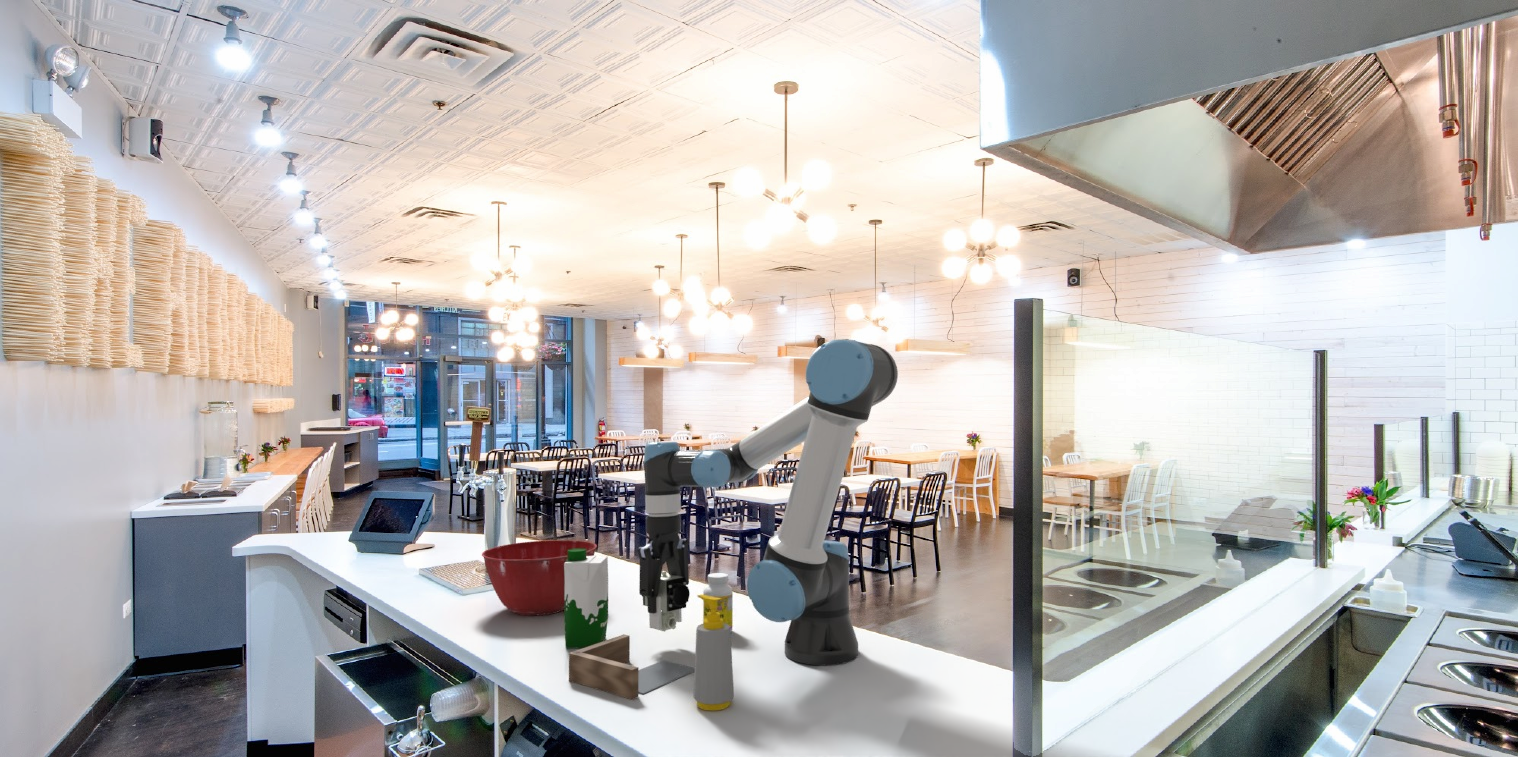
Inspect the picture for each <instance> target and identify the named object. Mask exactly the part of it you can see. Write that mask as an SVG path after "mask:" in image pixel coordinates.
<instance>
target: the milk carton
mask: <svg viewBox="0 0 1518 757" xmlns="http://www.w3.org/2000/svg"><path fill="white" fill-rule="evenodd" d="M608 557H609V556H605V555H604V556H603V555H602V556H601V555H599V556H597V555H594V556H586V549H583V548H575V549H569V550H568V551H567V560H566V562H565V563H564V574H565V606H564V610H563V612H564V616H563V617H564V622H563V623H564V624H563V625H564V638H565V639H564V641H565V643H564V645H565V649H583V648H586V647H588V646H591V645H594V644H597V643H600V642H603V641H605V639H606V638H607V629H608V623H609V622H608V621H609V564H608V562H609V561H608V559H609V558H608Z"/></svg>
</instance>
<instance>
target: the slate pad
mask: <svg viewBox="0 0 1518 757" xmlns="http://www.w3.org/2000/svg"><path fill="white" fill-rule="evenodd" d="M692 673H695V667H692V666H688V665H686V664H681V663H678V662H672V661H669V660H664V659H663V660H660V661H658V662H655V663H654V664H651V665H648V666H646V667H643V668H641V669H639V670H638V694H640V693H641V694H640V695H645V694H647V693H649V692H652V691H654V690H656V689H658V687H659V688H661V687H663V686H665V685H667V684H670V683H672V682H674V681H676V680H678V679H681V678H683V677H685V676H687V674H688V675H689V674H692ZM671 681H672V682H671ZM669 682H670V683H669Z"/></svg>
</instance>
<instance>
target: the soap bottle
mask: <svg viewBox="0 0 1518 757" xmlns="http://www.w3.org/2000/svg"><path fill="white" fill-rule="evenodd" d="M696 596H697V598H699V599H701V600H702V601H703V600H704V601H705V602H706V603H709V607H710V609H711V612H709V613H707V619H704V621H703V620H702V622H703V623H701V624H699V625H697V627H696V633H695V636H696V637H695V651H694V653H695V654H694V655H695V656H694V658H695V659H694V668H695V671H694V672H693V673H694V675H693V677H694V680H693V699H694V701H696V706H698V708H699V709H701V710H704V711H712V712H713V711H715V712H716V711H721V710H725V709H727V708H728V707H730V705H731V700H733V699H734V696H735V692H734V691H735V690H734V688H735V687H734V673H733V656H732V652H733V651H732V636H731V635H732V634H731V633H732V631H731V632H730V626H729V625H728V624H726V623H724V621H723V619H721V618H720V613H718V612H716V608H717V600H720V599H721V598H716V597H712V596H707V595H703V594H697V595H696Z"/></svg>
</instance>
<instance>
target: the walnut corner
mask: <svg viewBox="0 0 1518 757" xmlns="http://www.w3.org/2000/svg"><path fill="white" fill-rule="evenodd" d="M630 644H631V643H630V634H621V635H618V636H615V637H613V638H610V639H606V640H604V641H603V642H600V643H597V644H594V645H591V646H588V647H586V648H579V649H576V650H574V651H571V652H569V653H568V681H569V682H573V683H576V684H579V685H583V686H586V687H589V688H592V689H595V690H599V691H602V692H606V693H608V694H613V695H616V696H618V697H622V698H626V699H629V700H634V699H637V698H638V697H639V693H638V670H640V669H639V666H634V665H631V664H627V663H628V662H630V661H631V660H630V657H631V656H630Z"/></svg>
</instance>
